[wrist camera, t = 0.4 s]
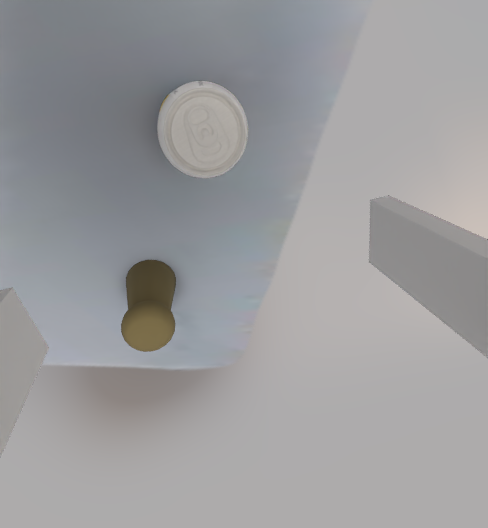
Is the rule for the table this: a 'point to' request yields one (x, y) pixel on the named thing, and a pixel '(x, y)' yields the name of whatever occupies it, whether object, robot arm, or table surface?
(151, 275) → the olive hourglass shape
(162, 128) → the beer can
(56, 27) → the table surface
